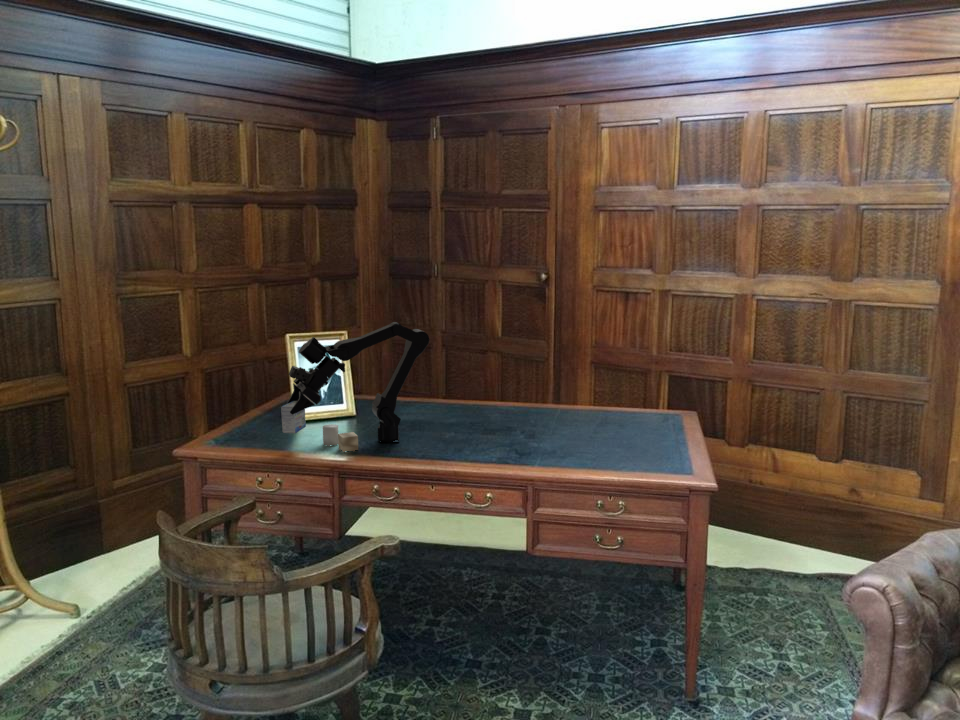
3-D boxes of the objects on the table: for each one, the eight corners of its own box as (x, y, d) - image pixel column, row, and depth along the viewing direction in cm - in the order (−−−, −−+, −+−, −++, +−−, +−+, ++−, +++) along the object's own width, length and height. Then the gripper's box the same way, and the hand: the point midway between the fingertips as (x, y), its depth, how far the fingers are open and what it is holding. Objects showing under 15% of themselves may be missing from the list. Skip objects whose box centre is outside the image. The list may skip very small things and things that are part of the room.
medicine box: (295, 433, 248) (294, 406, 247) (282, 433, 249) (280, 406, 248) (306, 427, 256) (305, 401, 254) (293, 426, 257) (292, 400, 255)
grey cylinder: (339, 441, 263) (338, 424, 262) (338, 445, 259) (337, 428, 257) (323, 442, 263) (323, 424, 262) (322, 446, 258) (322, 428, 257)
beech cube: (353, 446, 258) (353, 432, 257) (358, 450, 253) (357, 435, 252) (338, 448, 256) (338, 433, 255) (343, 452, 251) (342, 437, 250)
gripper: (298, 352, 258) (265, 388, 256) (308, 362, 241) (273, 400, 239) (324, 374, 262) (291, 409, 261) (335, 385, 245) (300, 423, 243)
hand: (288, 410), depth 251 cm, fingers closed on medicine box, 9 cm apart
